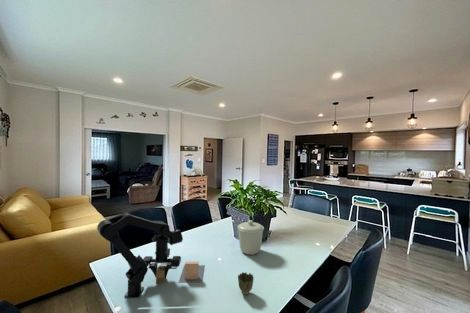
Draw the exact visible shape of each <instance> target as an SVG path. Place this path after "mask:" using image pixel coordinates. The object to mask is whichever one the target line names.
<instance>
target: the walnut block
mask: <svg viewBox="0 0 470 313" xmlns="http://www.w3.org/2000/svg"><path fill="white" fill-rule="evenodd" d="M165 267H166V266H159V265H157V270H156V277H155V284H165V283H166V281H167V277H166V278H165Z"/></svg>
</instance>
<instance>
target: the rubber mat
mask: <svg viewBox="0 0 470 313" xmlns="http://www.w3.org/2000/svg"><path fill="white" fill-rule="evenodd" d="M205 266H206V265H203V264H200V265H199V277H198V279H184V278H185V265H183V268H182V271H181V274H180V277H179V279H178V283H179V284H183V283H184V284H189V283H190V284H191V283H192V284H193V283H198V284H199V283H203V282H204V281H203V280H204V273H205Z"/></svg>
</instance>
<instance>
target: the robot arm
mask: <svg viewBox="0 0 470 313" xmlns="http://www.w3.org/2000/svg"><path fill="white" fill-rule="evenodd" d="M127 225H132V226H134V227H139V228H142V229H145V230H150V231H152V232H153V233H155V235H153V237H151V241H152V242H154V243H155V252H154V254H155V258H154V256H153V255H151V256H149V255H148V256H147V255H145V256H144V257H142V255H140V254H138V255H137V256H136V255H134V253H133V252H132V250H130V248H129V246H128V245H126V243H125V242H124V241H123V240H122V238H121V237H120V235H119V232H118V231H120V230H122V229H123V228H124V227H126V226H127ZM170 228H171V227H170V225H169V224H167V223H165V222H164V221H162V220H149V219H146V218H143V217H140V216H138V215H137V216H136V215H134V214H133V215H132V214H131V213H129V212H126V213H123V214H121V215H116V216H114V217H110V218H109V219H103V220H101V221H99V222H98V224H97V226H96V229H97V230H96V231H98V233H99V235H100V236H101V237H103V238H104V239H105V240H106V241H107V242H110V243H111V245H113V246H114V248H115V249H116V250H117V251H118V252H119V254H120V255H121V256H122V257H123V259H124V260H125V261H126V263H128V267H129V269H128V270H127V271H126V272H125V276H126V278H127V279H128V280H127V292H126V293H125V295H124V298H139V297H140V296H141V294H142V293H143V291H144V290H145V287H144V286H142V283H143V282H144V280H145V277H146V275H147V273H148V271H149V269H150V271H152V273H153V276H154V277H155V278H156V270H157V268H158V266H159V265H158V264H160V263H167V265H166V267H165V278H166V279H167V276H168V273H169V271H170V269H169V268H172V267H176V268H178V267H180V265H181V262H182V257H181V256H180V255H173V256H172V257H170V255H171V254H170V253H171V248H169V247H168V246H169V245H170V246H173V245H176V244H180V243H182V242H183V240H184V238H183V234H182V230H181V229H176V230H173V231H172V230H170ZM168 244H169V245H168ZM169 257H170V258H169Z"/></svg>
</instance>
